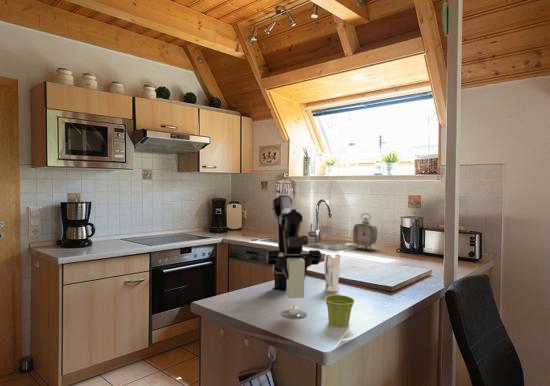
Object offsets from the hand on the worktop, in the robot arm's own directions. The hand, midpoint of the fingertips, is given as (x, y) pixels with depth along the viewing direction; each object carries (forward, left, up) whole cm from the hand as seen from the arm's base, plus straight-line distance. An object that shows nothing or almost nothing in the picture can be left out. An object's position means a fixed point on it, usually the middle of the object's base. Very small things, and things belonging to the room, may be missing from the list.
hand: (296, 278), depth 128 cm
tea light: (-1, +1, -13) cm, 13 cm away
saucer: (-1, +1, -13) cm, 13 cm away
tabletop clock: (-12, +145, -14) cm, 146 cm away
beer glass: (0, +38, -14) cm, 40 cm away
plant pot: (+15, +1, -14) cm, 20 cm away
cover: (-1, +1, -6) cm, 6 cm away
